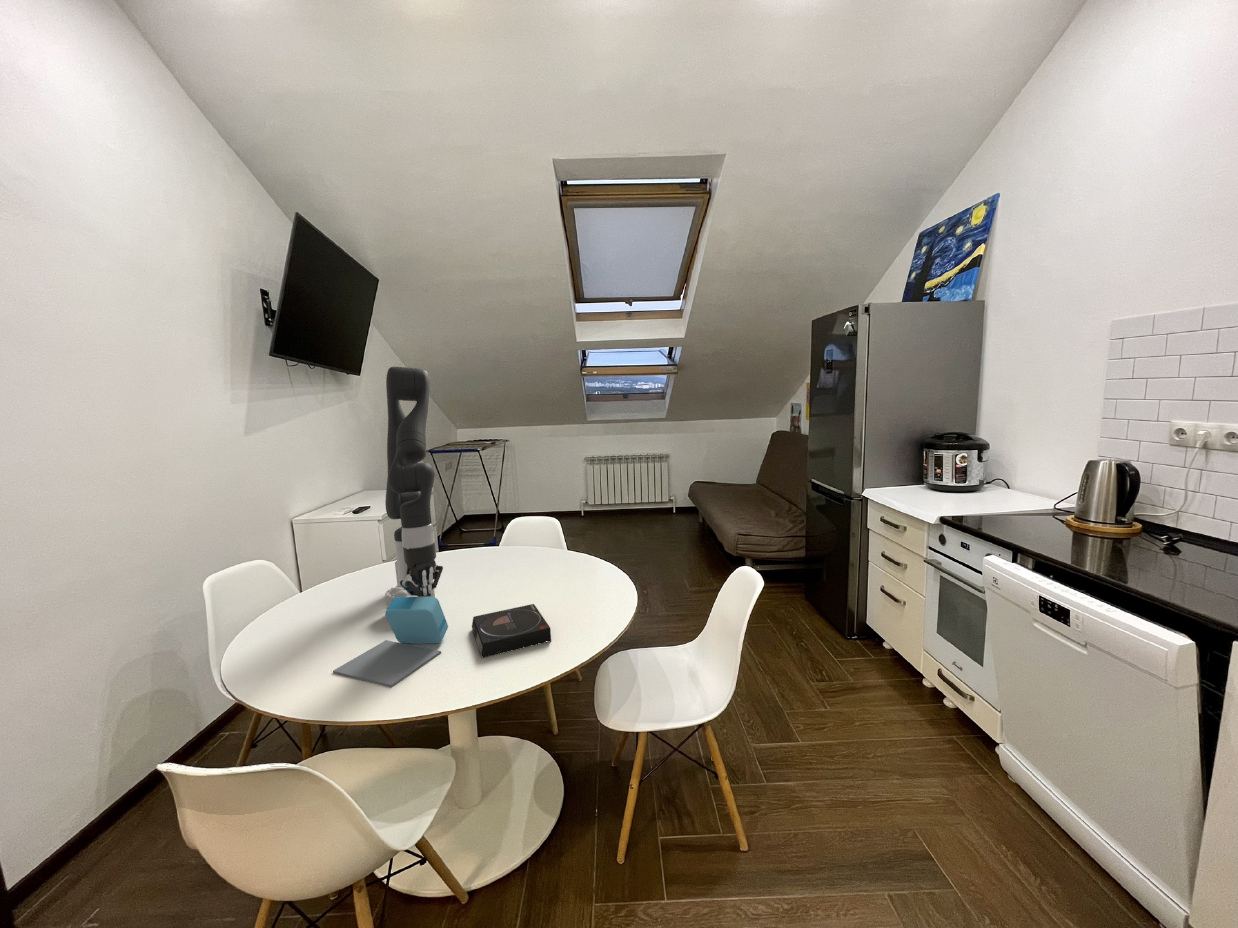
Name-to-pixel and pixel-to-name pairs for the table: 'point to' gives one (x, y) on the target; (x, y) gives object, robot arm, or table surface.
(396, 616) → the data package
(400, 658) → the mat
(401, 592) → the bumpy-topped grey block
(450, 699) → the table surface
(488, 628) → the portable cd player
